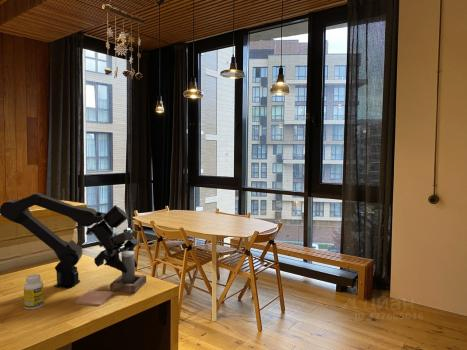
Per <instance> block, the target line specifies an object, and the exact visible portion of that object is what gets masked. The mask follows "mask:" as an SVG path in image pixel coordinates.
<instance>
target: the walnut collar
mask: <svg viewBox="0 0 467 350" xmlns="http://www.w3.org/2000/svg"><path fill="white" fill-rule="evenodd" d="M146 283H147V275H141V274H135V283H134V284H126V283H122V274H121V275H119V276H118V277H117V278H116V279H115V280H113V281H112V282H111V283H110V284H109V292H119V293H130V294H131V293H133V294H137V292H138V291H139V290H140V289H142V287H143V286H144V285H145V284H146Z"/></svg>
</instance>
